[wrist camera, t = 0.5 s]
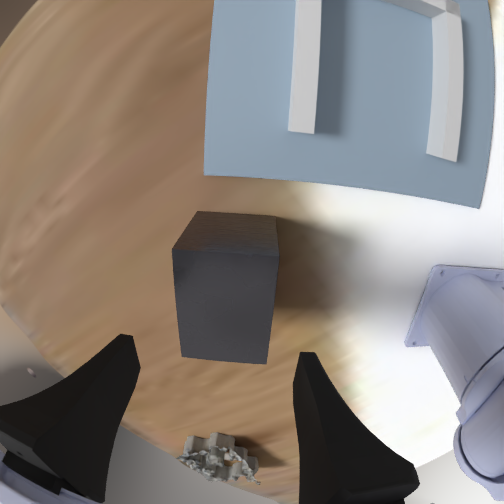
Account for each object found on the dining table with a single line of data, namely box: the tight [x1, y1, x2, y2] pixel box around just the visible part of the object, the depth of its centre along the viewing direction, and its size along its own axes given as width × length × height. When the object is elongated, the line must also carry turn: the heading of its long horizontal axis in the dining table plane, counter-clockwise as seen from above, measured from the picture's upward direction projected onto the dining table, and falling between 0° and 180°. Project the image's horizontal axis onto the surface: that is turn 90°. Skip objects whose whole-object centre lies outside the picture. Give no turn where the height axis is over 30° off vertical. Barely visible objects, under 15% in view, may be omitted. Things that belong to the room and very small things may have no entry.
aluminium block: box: [172, 211, 280, 364], centre depth 18 cm, size 5×7×6 cm
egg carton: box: [176, 432, 260, 485], centre depth 31 cm, size 11×8×4 cm
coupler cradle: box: [204, 0, 494, 209], centre depth 13 cm, size 20×18×2 cm
